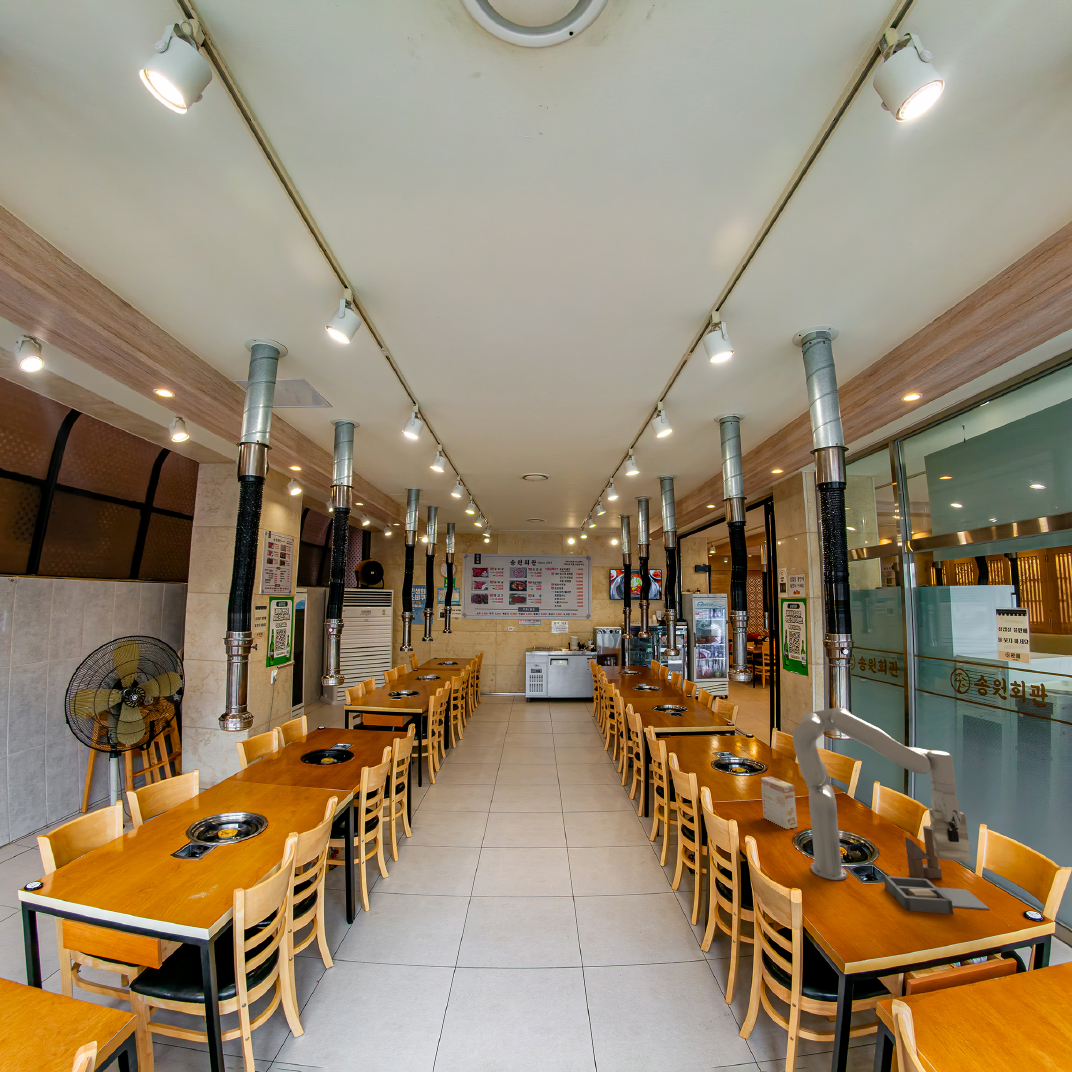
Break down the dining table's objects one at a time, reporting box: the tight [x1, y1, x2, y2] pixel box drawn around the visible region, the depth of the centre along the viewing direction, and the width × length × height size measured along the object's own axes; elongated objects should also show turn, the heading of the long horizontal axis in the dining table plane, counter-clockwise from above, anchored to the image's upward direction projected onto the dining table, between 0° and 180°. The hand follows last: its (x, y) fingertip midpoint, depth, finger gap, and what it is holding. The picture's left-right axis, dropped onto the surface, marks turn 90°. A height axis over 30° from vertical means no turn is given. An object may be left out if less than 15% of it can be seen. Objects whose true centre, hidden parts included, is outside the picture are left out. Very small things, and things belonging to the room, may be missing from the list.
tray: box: [883, 875, 954, 915], centre depth 183 cm, size 15×15×4 cm
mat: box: [936, 886, 990, 911], centre depth 184 cm, size 12×13×1 cm
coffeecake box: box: [760, 776, 798, 830], centre depth 251 cm, size 15×7×20 cm, turn 19°
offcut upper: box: [909, 889, 937, 898], centre depth 180 cm, size 4×7×2 cm, turn 87°
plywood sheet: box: [928, 808, 972, 862], centre depth 187 cm, size 4×10×16 cm, turn 80°
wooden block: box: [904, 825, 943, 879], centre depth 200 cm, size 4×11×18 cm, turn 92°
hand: (950, 838), depth 187 cm, fingers closed on plywood sheet, 3 cm apart
